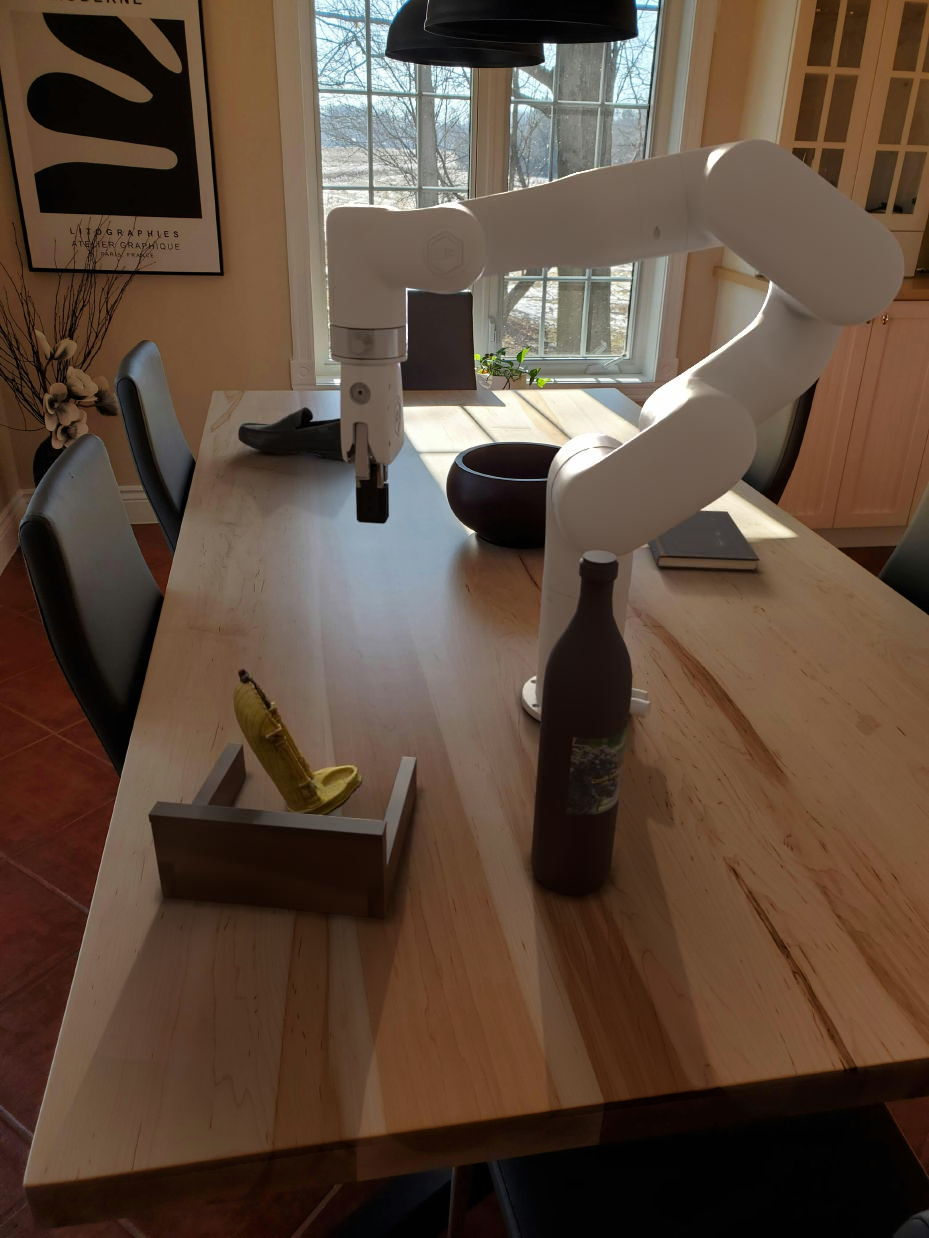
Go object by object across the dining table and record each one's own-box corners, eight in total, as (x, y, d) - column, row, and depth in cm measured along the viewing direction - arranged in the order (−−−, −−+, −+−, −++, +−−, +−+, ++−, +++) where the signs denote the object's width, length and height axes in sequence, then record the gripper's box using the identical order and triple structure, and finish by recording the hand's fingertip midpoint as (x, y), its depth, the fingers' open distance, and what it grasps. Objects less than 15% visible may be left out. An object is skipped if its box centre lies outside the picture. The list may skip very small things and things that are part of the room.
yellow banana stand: (232, 832, 83) (217, 693, 77) (256, 780, 91) (243, 649, 84) (355, 839, 83) (350, 700, 76) (368, 786, 90) (365, 655, 84)
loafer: (248, 443, 206) (244, 398, 201) (372, 450, 202) (371, 405, 198) (231, 455, 196) (227, 408, 192) (361, 463, 193) (360, 415, 189)
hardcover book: (725, 523, 164) (727, 511, 163) (757, 572, 143) (759, 559, 142) (637, 520, 164) (639, 508, 163) (656, 568, 144) (658, 555, 143)
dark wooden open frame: (232, 775, 91) (224, 700, 88) (416, 790, 90) (416, 715, 86) (161, 898, 76) (147, 814, 72) (384, 919, 74) (382, 835, 70)
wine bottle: (554, 906, 76) (582, 580, 63) (516, 854, 82) (535, 546, 68) (625, 884, 78) (666, 567, 65) (584, 835, 84) (614, 535, 71)
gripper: (393, 358, 81) (395, 548, 89) (418, 333, 94) (418, 500, 103) (312, 354, 82) (321, 543, 90) (348, 331, 95) (353, 497, 103)
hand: (372, 520), depth 96 cm, fingers closed
